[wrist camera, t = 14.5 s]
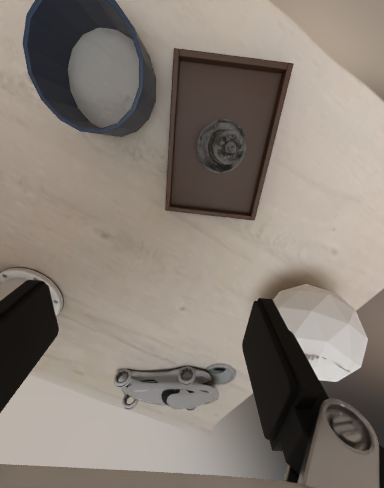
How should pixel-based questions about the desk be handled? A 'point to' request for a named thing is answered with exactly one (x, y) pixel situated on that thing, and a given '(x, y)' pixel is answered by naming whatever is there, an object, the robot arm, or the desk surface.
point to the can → (58, 53)
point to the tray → (222, 107)
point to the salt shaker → (221, 146)
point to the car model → (167, 387)
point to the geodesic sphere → (324, 330)
